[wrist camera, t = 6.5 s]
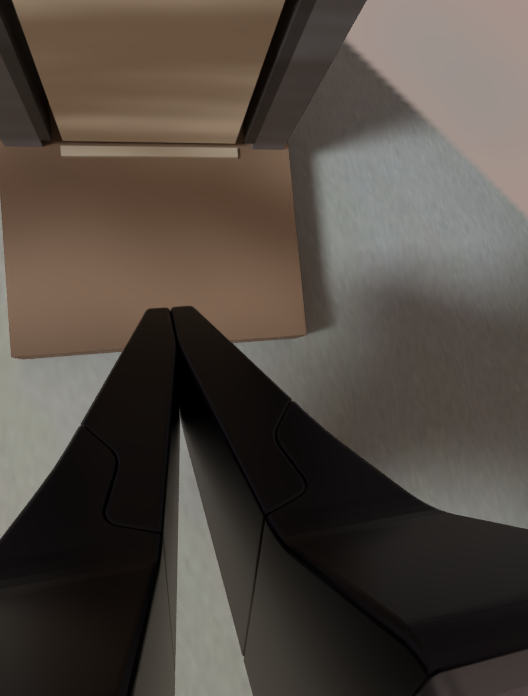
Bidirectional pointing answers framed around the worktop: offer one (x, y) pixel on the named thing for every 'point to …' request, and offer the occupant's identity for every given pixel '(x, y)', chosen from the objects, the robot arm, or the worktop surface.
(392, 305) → the worktop surface
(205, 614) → the worktop surface
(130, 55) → the curved wooden panel
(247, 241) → the wooden phone stand
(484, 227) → the worktop surface
